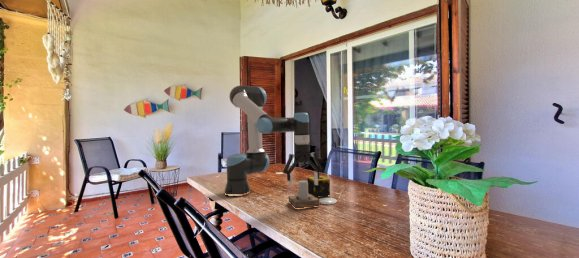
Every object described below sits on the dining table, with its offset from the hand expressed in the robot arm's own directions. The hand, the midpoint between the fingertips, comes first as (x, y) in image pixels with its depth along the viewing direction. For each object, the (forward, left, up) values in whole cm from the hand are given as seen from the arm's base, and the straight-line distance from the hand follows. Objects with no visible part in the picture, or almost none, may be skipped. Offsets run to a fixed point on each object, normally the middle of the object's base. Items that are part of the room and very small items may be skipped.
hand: (303, 185), depth 136 cm
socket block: (0, 0, -10) cm, 10 cm away
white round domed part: (0, +13, -10) cm, 16 cm away
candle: (-14, +14, -10) cm, 22 cm away
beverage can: (0, 0, -10) cm, 10 cm away
